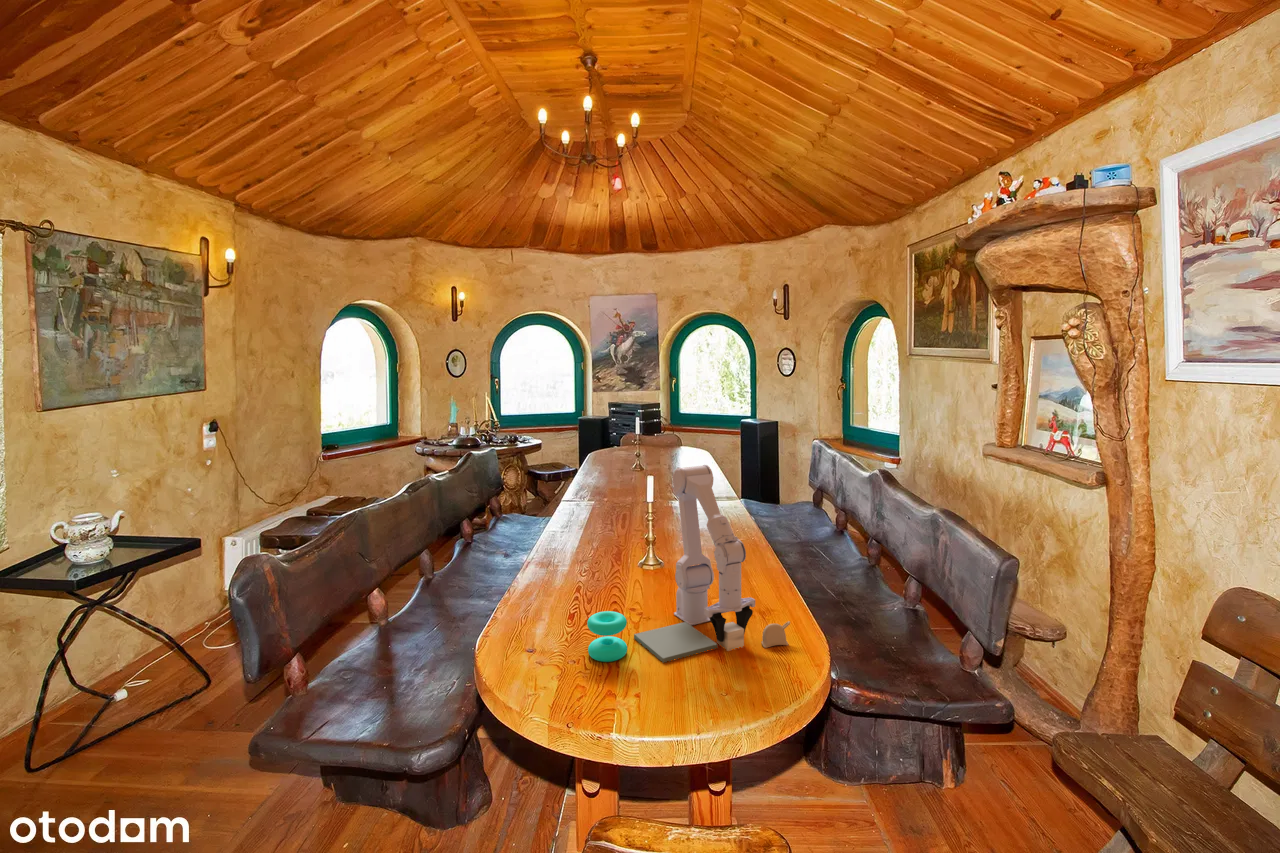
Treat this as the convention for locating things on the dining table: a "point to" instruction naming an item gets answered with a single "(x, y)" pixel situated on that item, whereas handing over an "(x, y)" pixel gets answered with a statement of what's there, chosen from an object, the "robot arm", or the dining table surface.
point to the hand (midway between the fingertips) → (730, 637)
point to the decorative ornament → (774, 635)
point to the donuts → (607, 636)
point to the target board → (675, 641)
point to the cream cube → (732, 636)
